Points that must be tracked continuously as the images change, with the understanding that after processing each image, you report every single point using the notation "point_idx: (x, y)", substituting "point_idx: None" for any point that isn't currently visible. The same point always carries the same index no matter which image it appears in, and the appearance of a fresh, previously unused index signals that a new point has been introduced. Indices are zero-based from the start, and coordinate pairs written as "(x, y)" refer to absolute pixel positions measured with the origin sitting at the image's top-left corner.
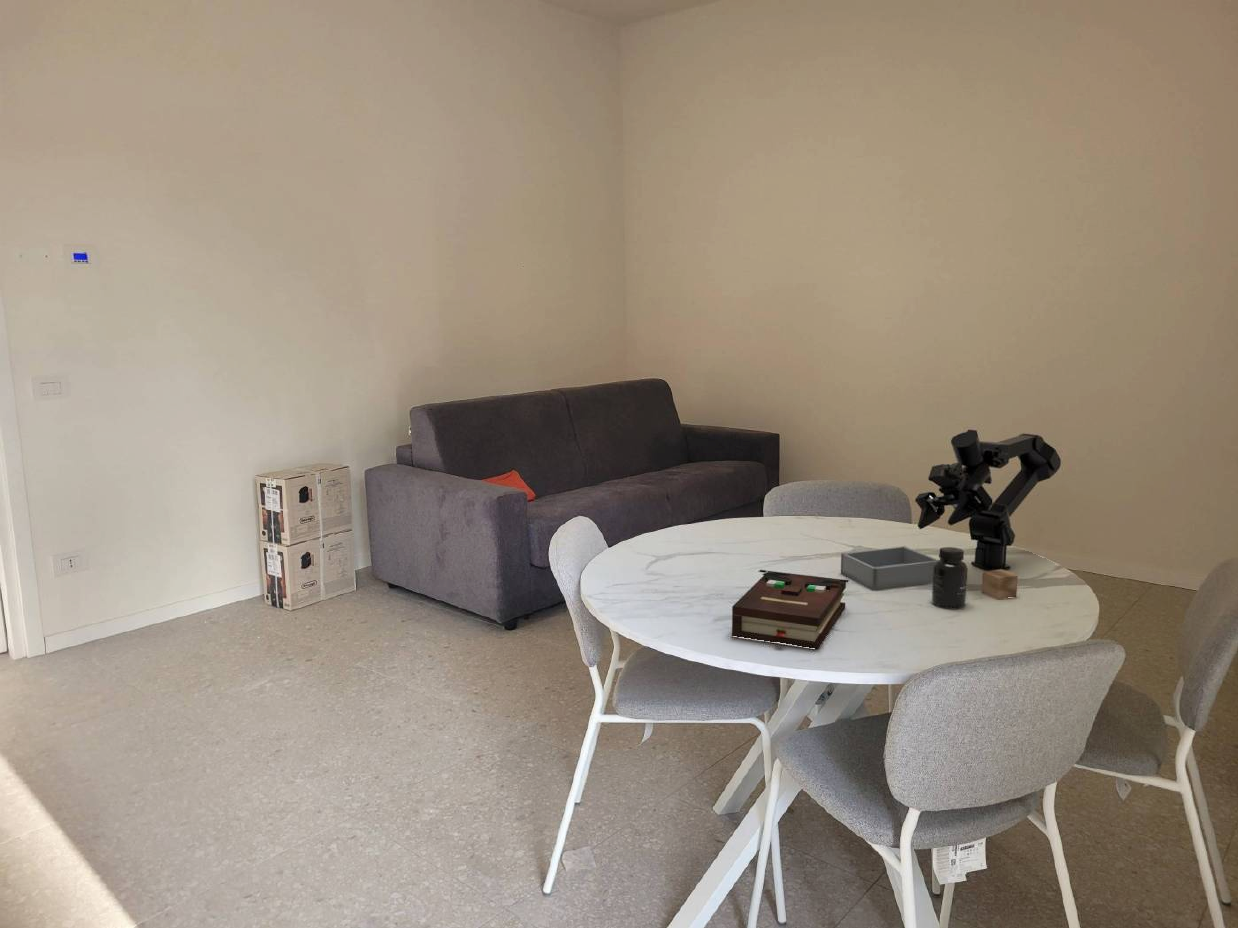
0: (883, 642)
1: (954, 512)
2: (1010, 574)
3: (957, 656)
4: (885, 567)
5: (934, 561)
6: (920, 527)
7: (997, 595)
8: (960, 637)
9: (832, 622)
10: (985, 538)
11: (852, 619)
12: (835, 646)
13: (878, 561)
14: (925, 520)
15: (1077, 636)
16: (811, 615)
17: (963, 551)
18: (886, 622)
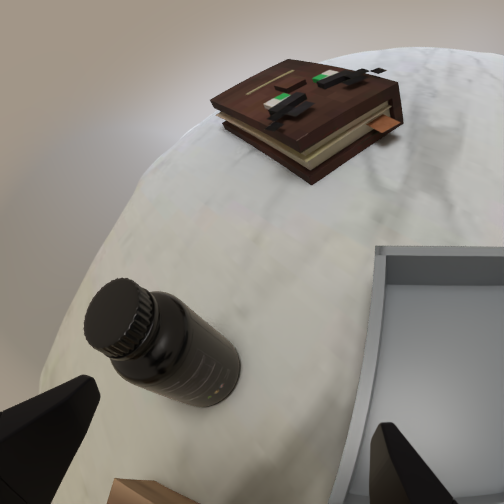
0: (189, 180)
1: (28, 407)
2: None
3: (118, 227)
4: (375, 283)
5: (335, 490)
6: (373, 434)
7: (147, 480)
8: (128, 265)
9: (256, 143)
10: None
11: (266, 177)
12: (219, 141)
13: None
14: (386, 501)
15: (40, 391)
16: (219, 96)
17: (84, 333)
18: (225, 210)
